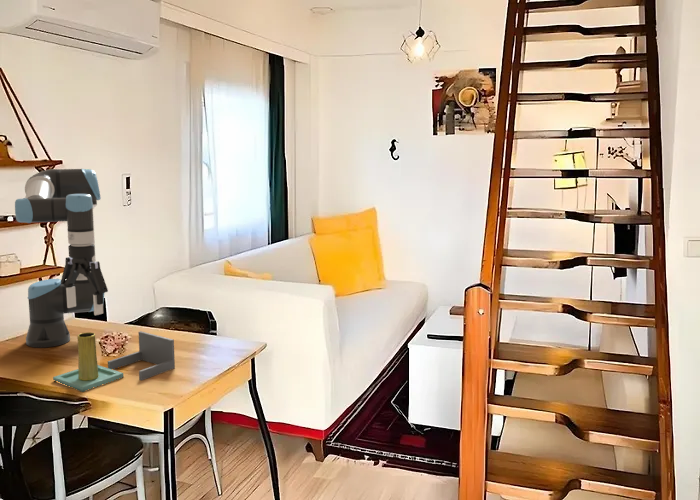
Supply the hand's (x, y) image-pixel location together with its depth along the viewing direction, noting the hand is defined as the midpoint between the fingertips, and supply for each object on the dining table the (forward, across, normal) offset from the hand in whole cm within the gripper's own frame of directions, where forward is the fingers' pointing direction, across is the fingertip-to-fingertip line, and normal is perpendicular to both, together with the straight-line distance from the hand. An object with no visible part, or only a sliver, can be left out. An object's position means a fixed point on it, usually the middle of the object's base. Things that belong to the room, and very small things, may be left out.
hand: (85, 310), depth 206 cm
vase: (+22, 0, 0) cm, 22 cm away
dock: (+23, +6, +15) cm, 28 cm away
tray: (+23, 0, 0) cm, 23 cm away
